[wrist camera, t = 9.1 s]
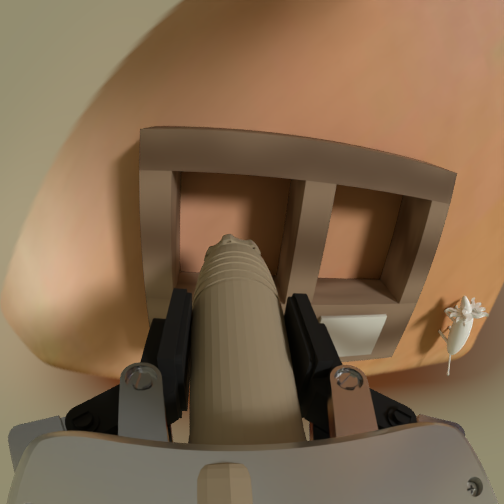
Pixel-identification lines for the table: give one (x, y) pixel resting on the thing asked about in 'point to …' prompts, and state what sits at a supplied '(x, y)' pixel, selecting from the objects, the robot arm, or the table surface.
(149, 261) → the socket block
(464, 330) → the white animal figurine
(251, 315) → the handle
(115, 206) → the table surface
